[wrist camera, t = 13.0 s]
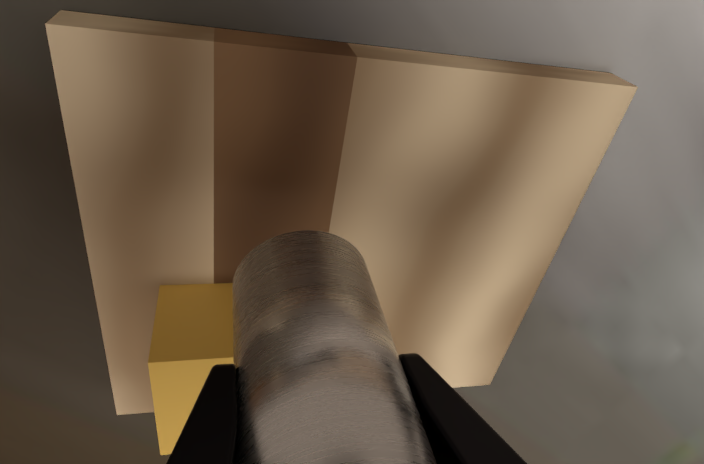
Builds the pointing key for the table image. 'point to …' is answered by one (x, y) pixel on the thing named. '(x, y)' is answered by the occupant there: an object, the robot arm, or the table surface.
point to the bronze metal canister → (318, 360)
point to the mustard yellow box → (186, 350)
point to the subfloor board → (323, 174)
